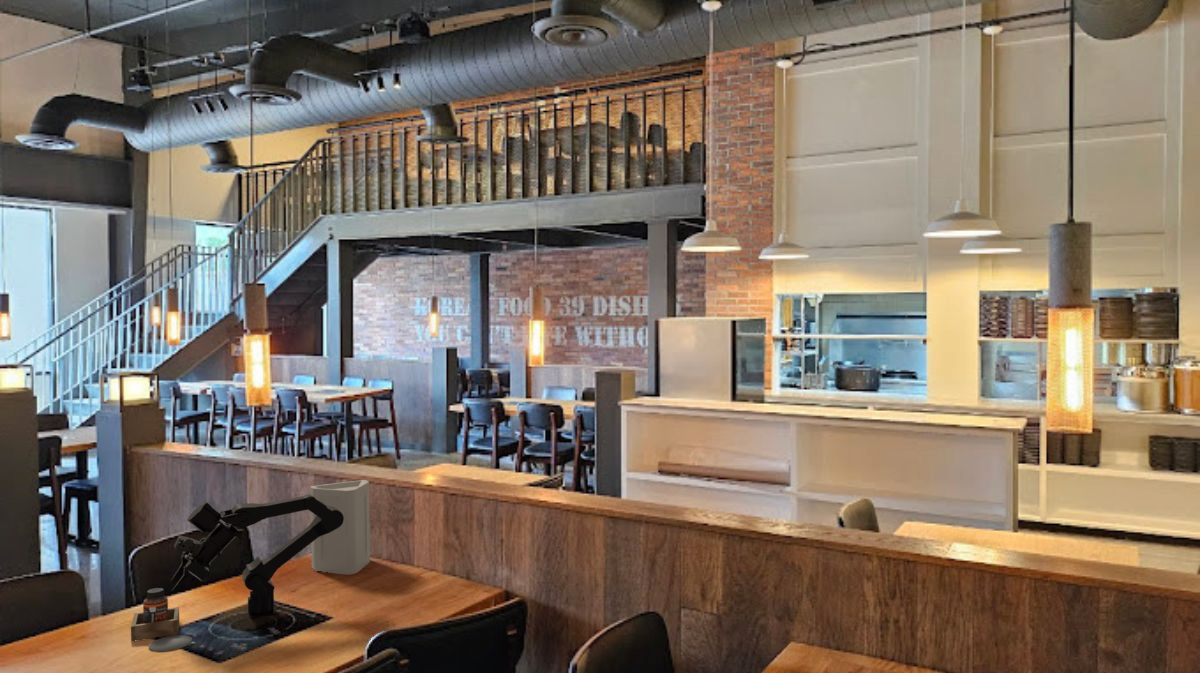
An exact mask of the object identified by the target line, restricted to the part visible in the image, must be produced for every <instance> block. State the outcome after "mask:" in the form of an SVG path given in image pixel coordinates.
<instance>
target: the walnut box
mask: <svg viewBox="0 0 1200 673" xmlns="http://www.w3.org/2000/svg"><path fill="white" fill-rule="evenodd" d="M130 624H131V625H130V642H131V641H133V642H136V641H135V640H139V641H144V640H143V639H146V640H151V639H150V638H152V639H157V638H156V637H159V638H164V636H165V637H168V636H175V635H179V629H180V628H179V627H180V607H179V606H176V607H170V608H169V607H168V620H165V621H158V622H152V623H145V624H143V611H140V612H135V613H134V614H133V618H132V621H131V623H130Z"/></svg>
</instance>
